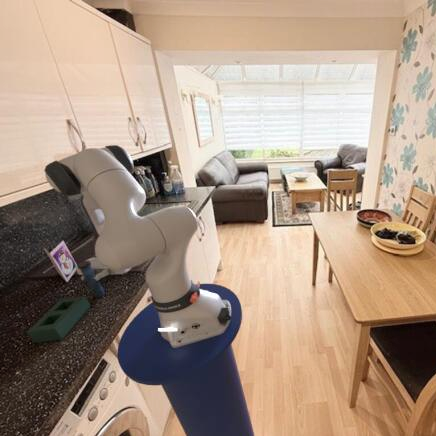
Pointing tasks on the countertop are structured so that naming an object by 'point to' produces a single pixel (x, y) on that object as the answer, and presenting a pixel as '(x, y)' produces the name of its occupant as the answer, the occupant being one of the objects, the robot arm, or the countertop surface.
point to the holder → (59, 319)
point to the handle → (91, 278)
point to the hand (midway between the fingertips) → (89, 279)
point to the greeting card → (63, 261)
